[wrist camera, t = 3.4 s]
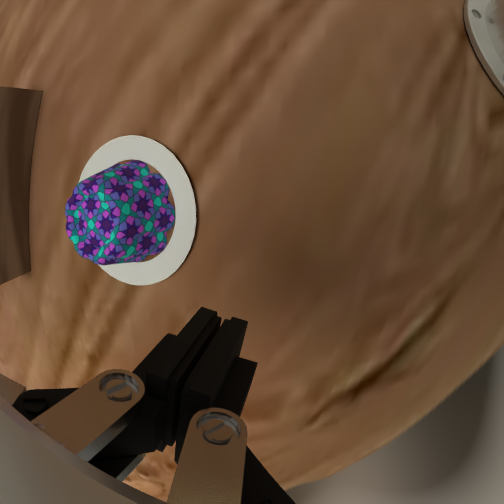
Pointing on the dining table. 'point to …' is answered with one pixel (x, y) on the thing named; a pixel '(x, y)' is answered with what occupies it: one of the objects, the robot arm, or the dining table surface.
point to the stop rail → (16, 177)
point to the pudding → (132, 211)
